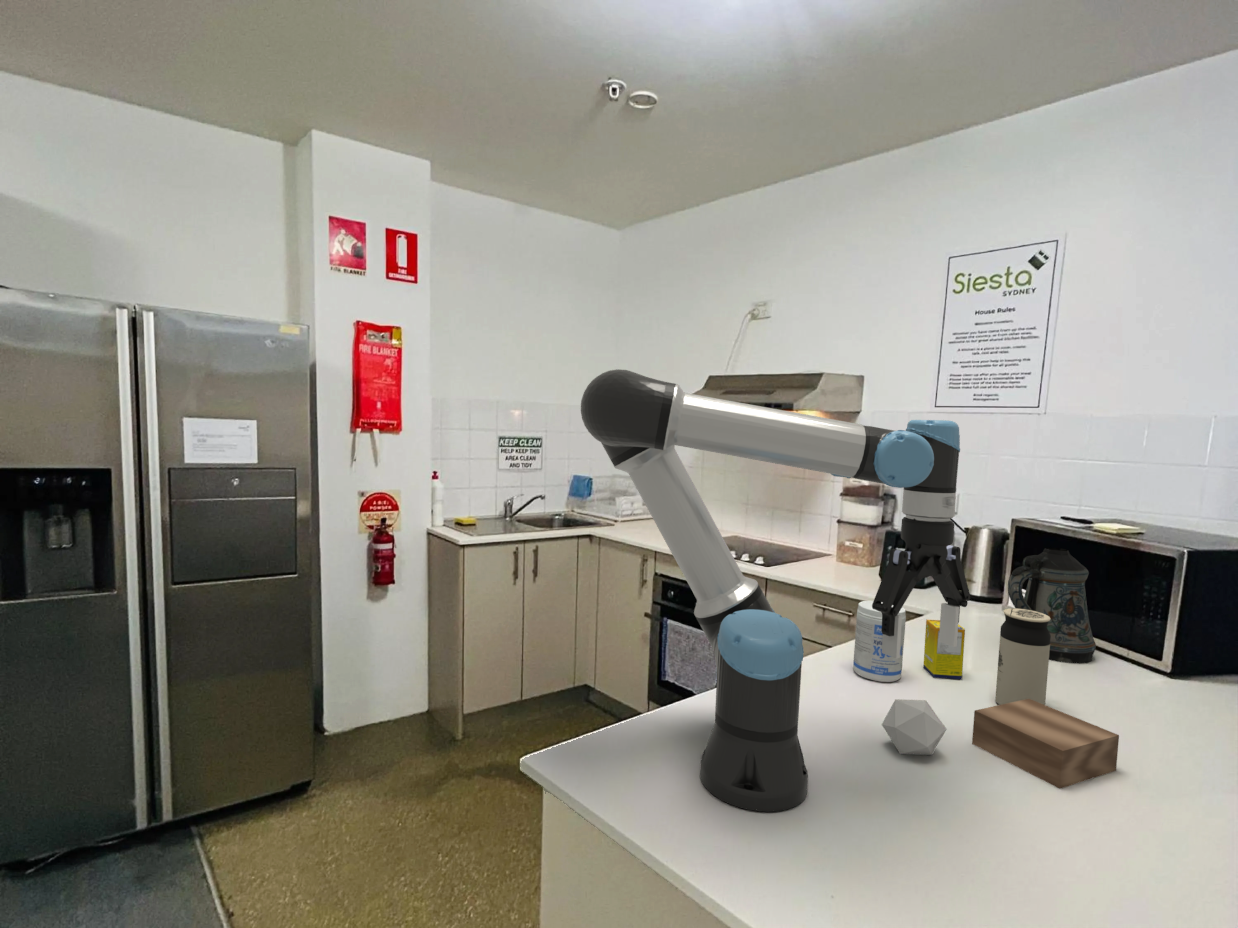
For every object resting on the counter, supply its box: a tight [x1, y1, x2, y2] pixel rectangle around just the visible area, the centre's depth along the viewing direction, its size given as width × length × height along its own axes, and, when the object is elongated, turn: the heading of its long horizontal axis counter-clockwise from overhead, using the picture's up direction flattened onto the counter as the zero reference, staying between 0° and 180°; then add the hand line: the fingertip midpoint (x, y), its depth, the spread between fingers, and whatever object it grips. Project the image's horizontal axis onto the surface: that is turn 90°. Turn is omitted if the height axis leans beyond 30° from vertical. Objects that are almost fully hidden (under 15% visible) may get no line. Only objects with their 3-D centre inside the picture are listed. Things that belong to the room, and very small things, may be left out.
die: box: [881, 698, 947, 756], centre depth 103 cm, size 8×9×10 cm
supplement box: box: [922, 619, 966, 680], centre depth 136 cm, size 6×6×11 cm
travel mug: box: [995, 607, 1051, 705], centre depth 121 cm, size 8×8×18 cm
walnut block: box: [971, 699, 1120, 790], centre depth 102 cm, size 14×14×6 cm
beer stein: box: [1007, 546, 1097, 664], centre depth 153 cm, size 16×19×25 cm
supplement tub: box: [852, 600, 907, 683], centre depth 134 cm, size 10×10×15 cm
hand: (920, 649), depth 102 cm, fingers open, 13 cm apart
